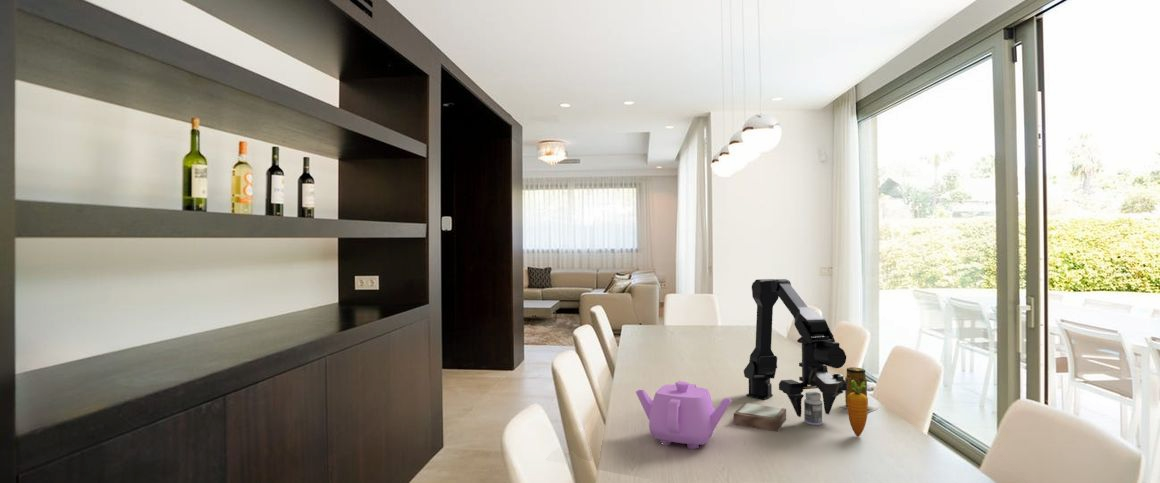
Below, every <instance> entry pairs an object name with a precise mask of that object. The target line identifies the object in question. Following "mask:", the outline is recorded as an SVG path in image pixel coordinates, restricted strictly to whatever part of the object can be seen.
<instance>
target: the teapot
mask: <svg viewBox="0 0 1160 483" xmlns="http://www.w3.org/2000/svg"><path fill="white" fill-rule="evenodd" d="M635 394H636V396H637V397H638V400H639V402H640V404H641V406H642V408H643V411H644V412H645V414H646V416H647V419H648V428H649V432H650V434H651V436H652V438H654V439H657V440H660V441H659V443H660V442H661V443H663V444H669V445H671V444H672V443H678V444H686V446H687V448H688V449H690V448H691V449H690V450H698V449H700V446H699V445H705V444H707V443H708V442H709V441H710V440H711V437H712V435H713V434H714V431H715V428H717V426H718V425H719V422H720V421H721V419H722V417H723V416H724V415H725V413H726V411H727V409H728V408H729V406H730V404H731V403H732V399H730V398H726V397H723V399H722V401H721V402H720V403H719V405H718V406H717V407H716V409H715V408H714V407H715V406H714V403H713V400H712V397H711V396H712V395H711V392H710V391H709V389H708V388H704V387H699V386H697V384H695V383H689V382H688V381H683V380H682V381H680V380H679V381H677V382H676V381H675V384H663V385H662V386H661V387H660V388H659V389H658V390H657V391H656V392H655V394H654V397H653V399H652V398H651V397H650V396H649V394H648V393H647V392H646V391H645V389H637V390H636V391H635ZM670 443H671V444H670ZM663 444H662V445H663ZM697 448H698V449H697Z"/></svg>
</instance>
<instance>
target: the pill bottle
mask: <svg viewBox="0 0 1160 483" xmlns="http://www.w3.org/2000/svg"><path fill="white" fill-rule="evenodd" d="M821 395H822V394H821V393H819V392H817V391H811V390H810V391H806V392H805V399H804V401H803V402H804V403H803V405H804V406H803V407H804V408H803V409H804V411H803V412H804V422H805V423H806V424H809V425H812V426H819V425H822V424H823V402H822V401H823V400H821V399H822V396H821Z"/></svg>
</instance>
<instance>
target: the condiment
mask: <svg viewBox="0 0 1160 483" xmlns="http://www.w3.org/2000/svg"><path fill="white" fill-rule="evenodd" d="M866 376H867V375H866V370H865V369H864V368H860V367H855V366H854V367H847V368H846V376H845V378H844V380H845V381H846V383H847V390H845V400H844V401H845V404H842V405H840V408H844V409H848V408H847V396H848V395H849V394H850V393H854V391H853V389H852V388H853V386H852V383H851V380H854V381H855V382H856V384H857V386H858V387H860V386H861V384H862V382H863V381H864V382H866V383H865V386H866V388H863V390H862V391H861V393H862V394H864V395H866V396H867V397H868V379H867V377H866ZM878 409H879V408H878V407H874V406H870V405H868V413H871V412H873V411H876V410H878Z"/></svg>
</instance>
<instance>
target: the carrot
mask: <svg viewBox="0 0 1160 483" xmlns="http://www.w3.org/2000/svg"><path fill="white" fill-rule="evenodd" d="M851 383H852V386H853V388H852V389H853V391H854V393H850V394H849V395H848V396H847V408H846V409H847V415H848V420H849V424H850V426H851V429H852V432H854V435H855V436H856V437H861V435H862V433H863V431H864V429H865V427H866V424H867V423H866V422H867V419H868V413H869V412H868V409H869V408H868V406H869V398H868V395H867V396H866V395H864V394H862V393H861V391H862V390H863V388H866V386H865V383H866V382H864V381H863V382H862V384H861V386H860V387H858V386H857V384H856V382H855V381H854V380H851Z"/></svg>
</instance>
